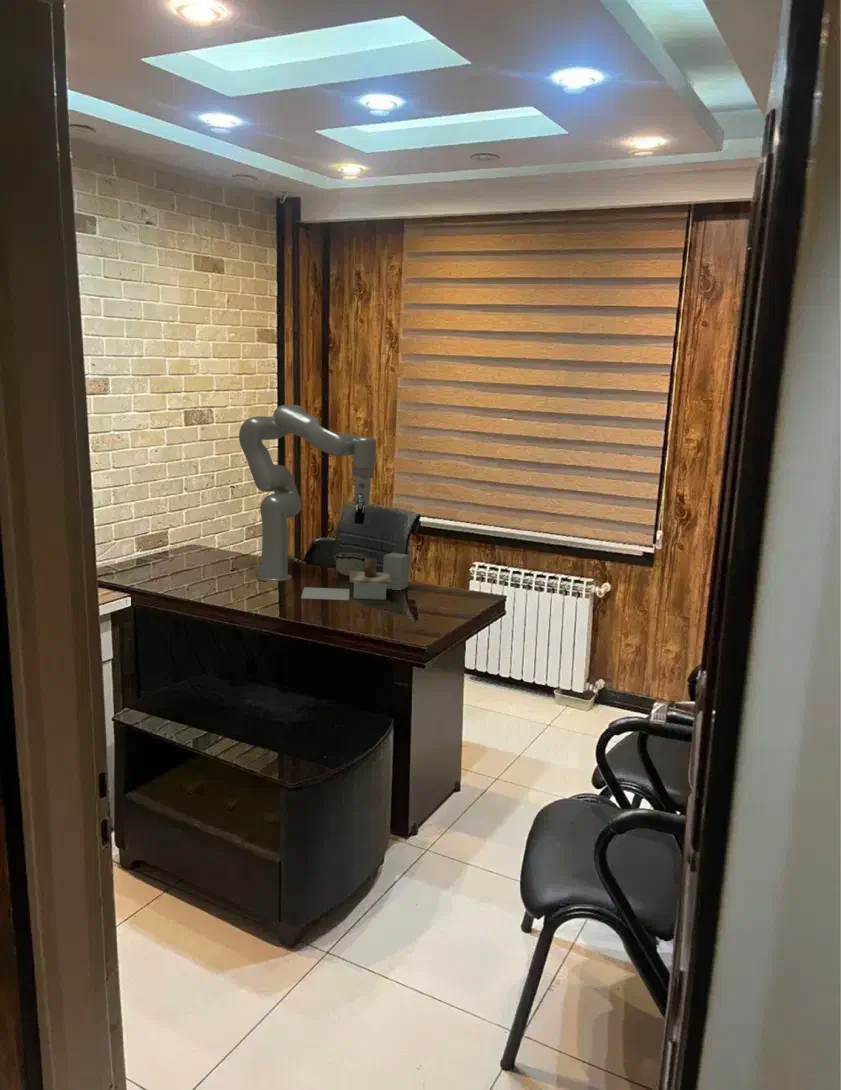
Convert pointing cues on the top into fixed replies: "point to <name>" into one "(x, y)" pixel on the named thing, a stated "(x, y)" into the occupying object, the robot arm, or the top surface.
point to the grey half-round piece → (348, 564)
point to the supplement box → (396, 570)
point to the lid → (370, 574)
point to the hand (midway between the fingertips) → (359, 521)
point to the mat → (325, 593)
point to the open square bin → (369, 591)
